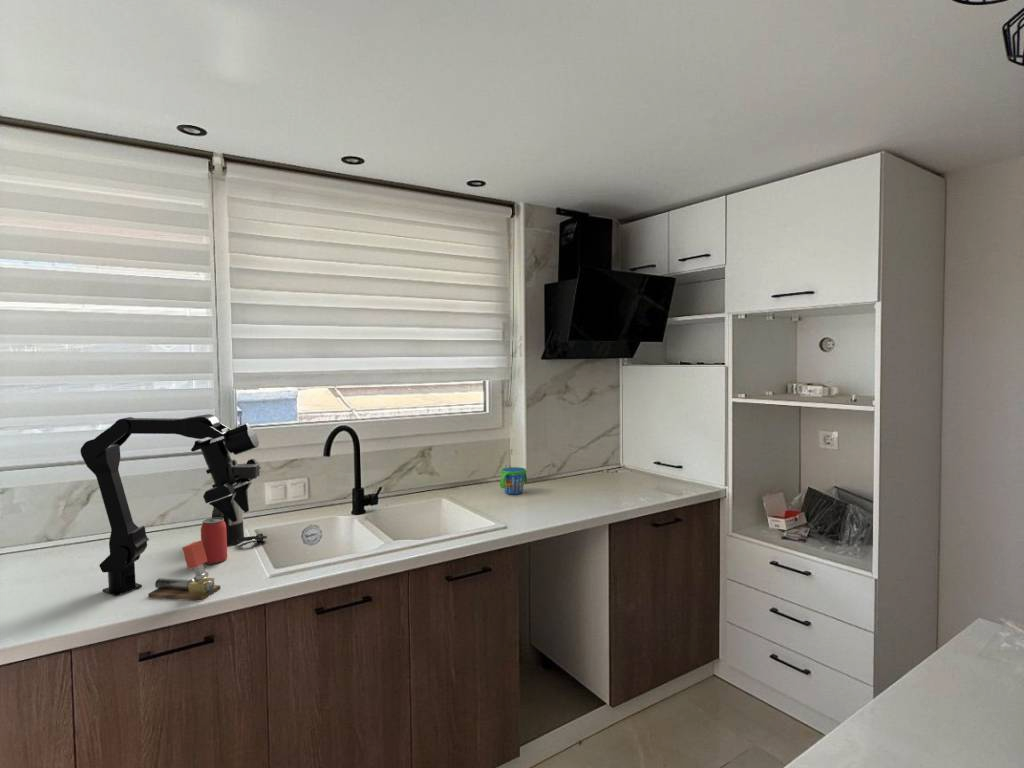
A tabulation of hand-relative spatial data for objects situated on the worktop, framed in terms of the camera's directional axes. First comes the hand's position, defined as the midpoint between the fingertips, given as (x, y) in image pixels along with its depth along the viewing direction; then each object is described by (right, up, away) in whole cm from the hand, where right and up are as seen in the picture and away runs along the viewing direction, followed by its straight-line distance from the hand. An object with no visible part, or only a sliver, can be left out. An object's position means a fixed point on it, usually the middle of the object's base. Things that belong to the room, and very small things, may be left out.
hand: (241, 516), depth 150 cm
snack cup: (+72, -12, +93) cm, 118 cm away
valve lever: (-7, -13, -7) cm, 17 cm away
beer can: (-16, -17, +17) cm, 29 cm away
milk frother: (-16, -16, +33) cm, 40 cm away
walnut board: (-11, -18, -6) cm, 22 cm away
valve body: (-11, -17, -6) cm, 22 cm away
